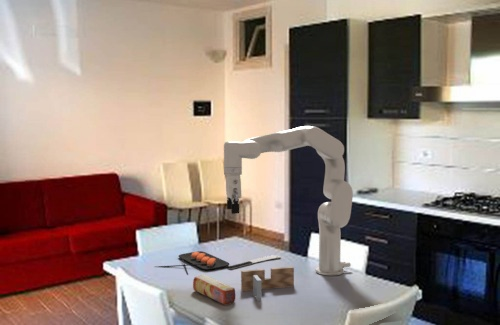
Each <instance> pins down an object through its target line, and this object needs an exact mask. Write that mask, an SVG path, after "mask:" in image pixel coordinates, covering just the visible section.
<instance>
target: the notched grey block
mask: <svg viewBox="0 0 500 325" xmlns="http://www.w3.org/2000/svg"><path fill="white" fill-rule="evenodd" d="M252 295H253V297H255V299H256V302H257V301H262V289H261V279H260V278H259V277H258V276H257V275H253V290H252Z"/></svg>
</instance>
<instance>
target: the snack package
mask: <svg viewBox="0 0 500 325" xmlns="http://www.w3.org/2000/svg"><path fill="white" fill-rule="evenodd" d="M192 289H193V290H194V292H197V293H199V294H201V295H202V296H205V297H208V298H210V299H212V300H214V301H216V302H218V303H220V304H222V305H223V306H227V305H230V304H233V303H234V302H235V301H236V288H235V287H234V286H230V285H228V284H225V283H223V282H221V281H219V280H217V279H214V278H212V277H210V276H208V275H206V274H197V275H196V276H194V278H193V280H192Z"/></svg>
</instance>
